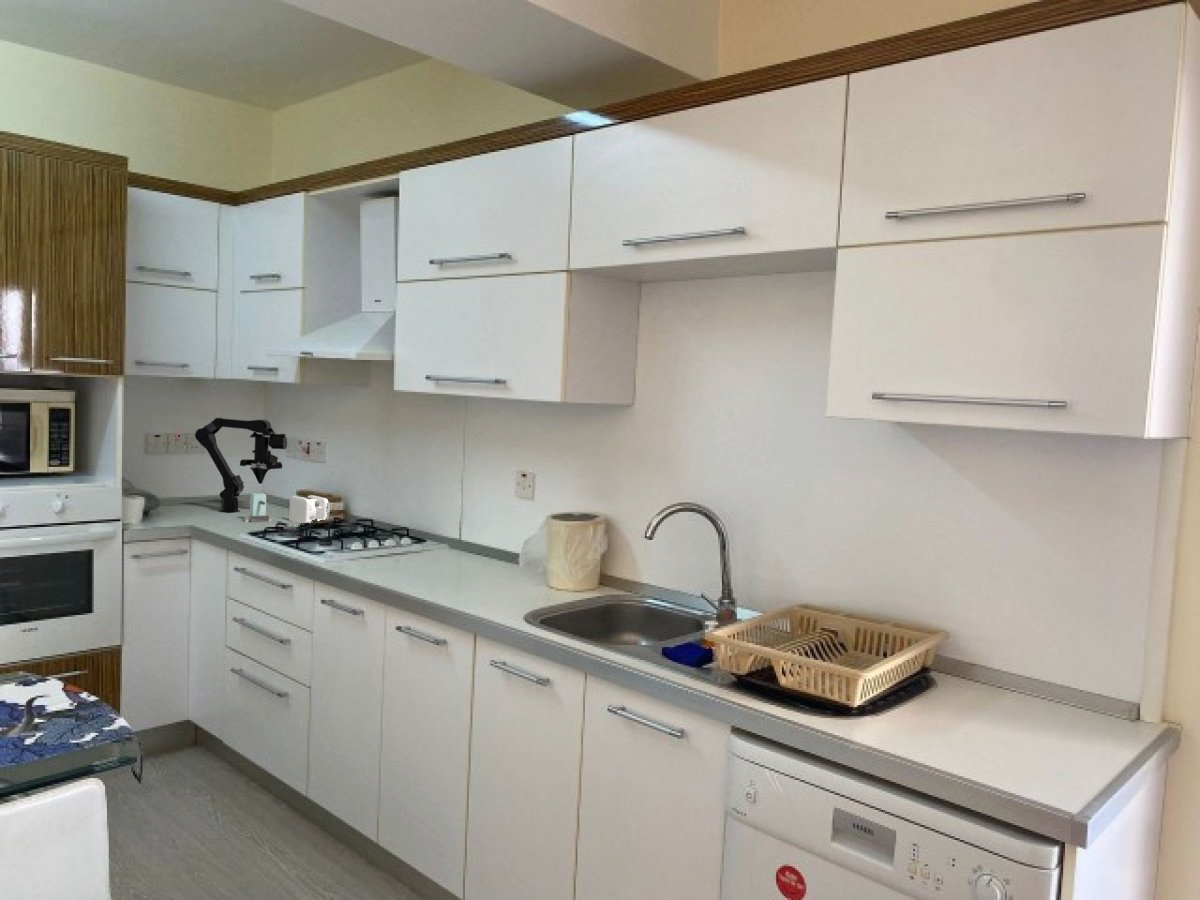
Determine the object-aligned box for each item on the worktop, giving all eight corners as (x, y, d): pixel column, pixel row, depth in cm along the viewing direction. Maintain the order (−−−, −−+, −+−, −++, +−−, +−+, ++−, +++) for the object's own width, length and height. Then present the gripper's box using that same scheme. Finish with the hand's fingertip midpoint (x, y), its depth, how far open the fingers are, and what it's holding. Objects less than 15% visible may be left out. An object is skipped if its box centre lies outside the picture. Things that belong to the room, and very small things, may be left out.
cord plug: (248, 520, 357) (249, 493, 357) (263, 519, 361) (264, 493, 360) (255, 523, 350) (256, 496, 350) (270, 522, 354) (271, 495, 353)
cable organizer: (287, 523, 364) (288, 495, 363) (310, 521, 372) (311, 494, 371) (305, 528, 354) (306, 499, 353) (329, 526, 362) (330, 498, 361)
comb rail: (232, 520, 363) (233, 511, 363) (262, 518, 371) (262, 510, 370) (245, 525, 351) (245, 517, 350) (275, 524, 358) (276, 515, 358)
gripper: (291, 449, 389) (290, 484, 390) (257, 446, 396) (256, 480, 397) (273, 450, 379) (272, 486, 380) (239, 446, 385) (238, 482, 386)
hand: (260, 483), depth 386 cm, fingers closed
